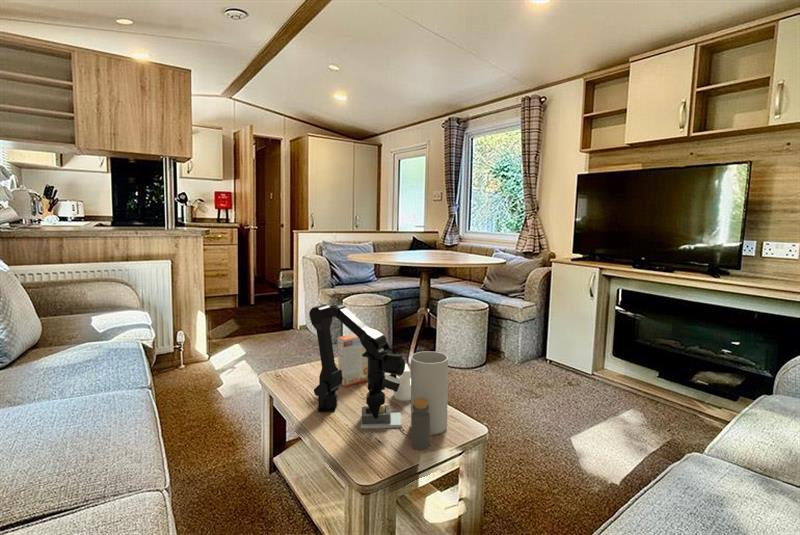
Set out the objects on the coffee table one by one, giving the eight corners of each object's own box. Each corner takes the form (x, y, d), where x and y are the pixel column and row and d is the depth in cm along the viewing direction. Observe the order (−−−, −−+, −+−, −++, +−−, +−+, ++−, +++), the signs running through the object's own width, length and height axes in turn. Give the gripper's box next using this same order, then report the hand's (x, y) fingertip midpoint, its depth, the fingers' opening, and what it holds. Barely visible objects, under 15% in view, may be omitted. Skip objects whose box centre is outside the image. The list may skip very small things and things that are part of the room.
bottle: (410, 441, 139) (410, 397, 137) (428, 440, 139) (428, 396, 137) (412, 451, 133) (412, 405, 131) (431, 450, 133) (431, 404, 131)
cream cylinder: (417, 399, 170) (417, 370, 168) (395, 401, 168) (395, 371, 167) (413, 390, 179) (413, 362, 177) (392, 391, 177) (392, 364, 176)
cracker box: (365, 375, 195) (364, 331, 192) (372, 379, 190) (371, 334, 188) (337, 382, 187) (336, 336, 184) (344, 387, 182) (343, 339, 179)
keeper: (360, 428, 147) (360, 411, 146) (362, 416, 156) (361, 400, 155) (401, 427, 148) (401, 410, 147) (400, 415, 157) (400, 399, 156)
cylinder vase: (403, 424, 149) (403, 355, 146) (430, 415, 157) (431, 349, 154) (426, 440, 139) (427, 366, 136) (454, 428, 147) (455, 358, 144)
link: (361, 424, 148) (361, 416, 147) (362, 414, 154) (361, 406, 154) (390, 422, 148) (390, 414, 148) (389, 412, 155) (389, 404, 155)
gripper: (399, 379, 140) (400, 424, 142) (397, 360, 159) (397, 400, 161) (366, 380, 140) (366, 425, 142) (367, 360, 158) (368, 401, 160)
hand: (376, 412), depth 151 cm, fingers open, 9 cm apart
